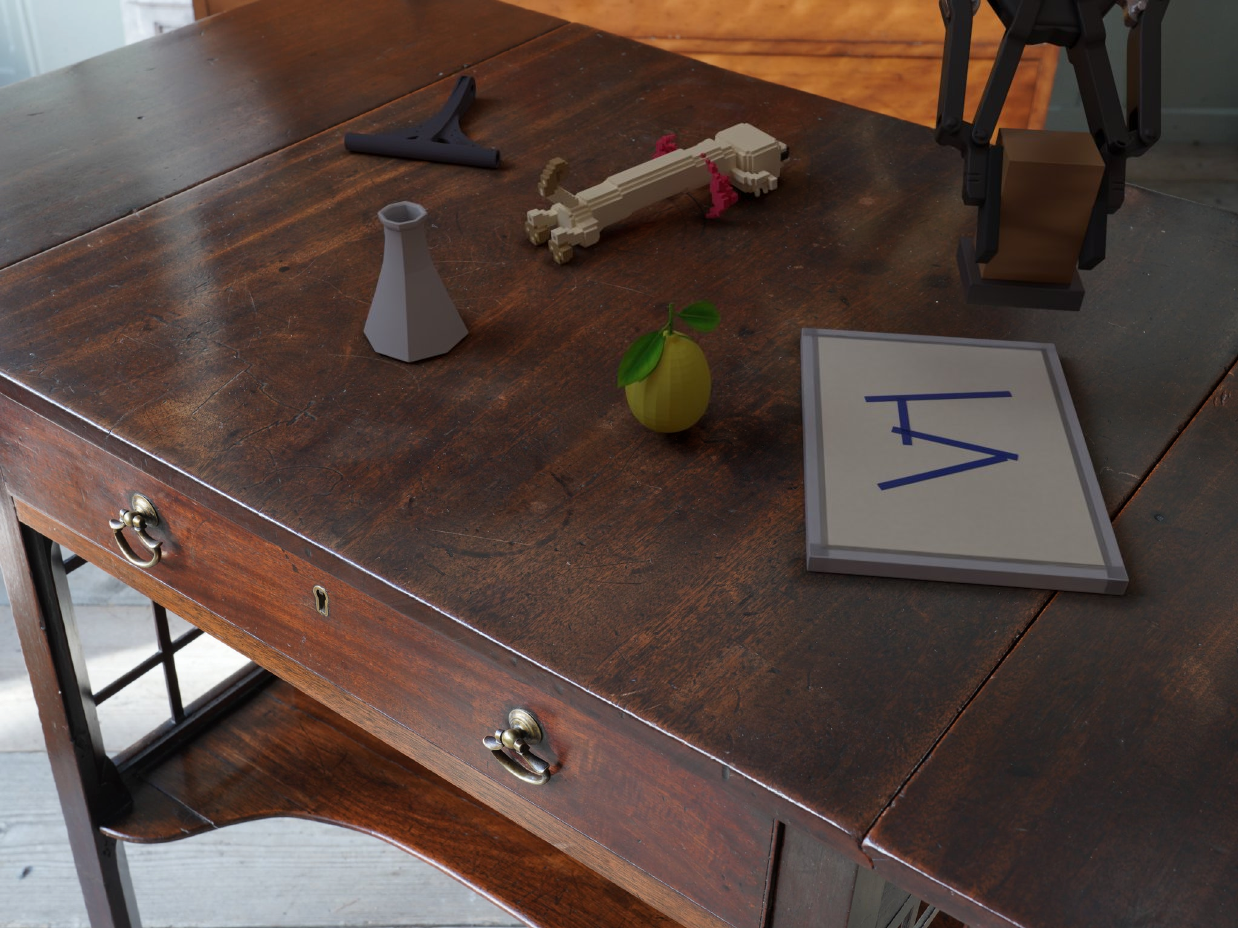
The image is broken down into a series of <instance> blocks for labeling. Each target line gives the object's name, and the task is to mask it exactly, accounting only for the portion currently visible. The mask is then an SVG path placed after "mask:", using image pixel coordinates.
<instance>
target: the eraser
mask: <svg viewBox="0 0 1238 928" xmlns="http://www.w3.org/2000/svg"><path fill="white" fill-rule="evenodd" d="M994 145H997V146H1004V150H1003V168H1002V186H1001V209H1000V227H999V244H998V253H997V254H996V255H995V256H994V257H993V258H992V259H991V260H990V261H989V262H988V264H982V263H975V252H976V235H977V227H976V228H975V233H974V236H973V237H966V236H960V237H959V240H958V245H957V249H956V254H955V259H956V263H957V267H958V272H959V276H960V282H961V286H962V291H963V294H964V295H963V296H964V301H965V304H966V305H971V306H972V305H973V306H985V307H986V306H987V307H1001V308H1002V307H1003V308H1019V309H1033V310H1049V311H1062V312H1076V313H1077V312H1078V313H1079V312H1080V310H1081V307H1082V304H1083V301H1084V298H1085V295H1086V289H1085V287H1084V284H1083V282H1082V278H1081V276H1080V273H1079V270H1078V259H1079V255H1080V251H1081V248H1082V244H1083V241H1084V238H1085V234H1086V231H1087V227H1088V224H1089V220H1090V217H1091V213H1092V210H1093V207H1094V203H1095V200H1096V197H1097V193H1098V190H1099V186H1100V183H1101V179H1102V176H1103V173H1104V169H1105V163H1104V161H1103V159H1102V157H1101V155H1100V152H1099V150H1098V148H1097V146H1096V144H1095V141H1094V139H1093V137H1092V135H1091V133H1090V132H1087V131H1086V132H1084V131H1068V130H1067V131H1066V130H1051V129H1050V130H1049V129H1047V130H1046V129H1031V128H1029V129H1028V128H1013V127H999V128H998V131H997V135H996V139H995V143H994Z"/></svg>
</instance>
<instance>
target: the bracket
mask: <svg viewBox="0 0 1238 928" xmlns="http://www.w3.org/2000/svg"><path fill="white" fill-rule="evenodd" d="M476 83H477V82H476V79H475V78H474V76H469V75H460V74H459V75H458V77H457V79H456V82H455V84H454V86H453V88H452V90H451V92H450V94H449V97H448V98H447V100H446V102H445V104H444V105H443V107H442V108H441V111H440V112H438V113H436V114H434V115H433V116H432V117H430V118H429V119H426V120H425V121H422V122H421V123H418V124H415V125H413V126H410V127H406V128H403V129H399V130H395V131H390V132H384V133H377V134H368V133H362V132H361V133H360V132H351V131H347V132H346V133H345V135H344V140H343V145H344V149H345V150H346V151H351V152H358V153H368V154H375V155H383V156H391V157H392V156H393V157H400V158H407V159H416V160H425V161H433V162H440V163H448V164H449V163H450V164H459V165H465V166H474V167H483V168H491V169H498V168H499V166H500V164H501V151H500V150H499V149H495V148H488V147H483V146H481V145H479V144H477V143H476V142H474V141H473V140H471V139H470V138H469V137H468V136H466V135H465V133H463V132H462V129H461V127H460V124H459V123H460V120H461V119H462V118H463V116H465V114H466V113H467V111H469V109H470V108H471V106H472V105H473V104H474V102H475V99H476V96H477V95H476V93H477V84H476Z"/></svg>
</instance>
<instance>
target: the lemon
mask: <svg viewBox="0 0 1238 928" xmlns="http://www.w3.org/2000/svg"><path fill="white" fill-rule="evenodd" d="M668 306H669V308H668V315H669V316H668V319H669V320H668V322H667V324H666V325H665V326H664V327H662V328H661V329H659V330H654V331H652V332H651V331H650V332H647V333H645V334H643V335H640V337H638V338H637V339H636V340H634V341H633V342H632V343H631V345H630V346H629V348H627V350H626V352H625V353H624V354H623V357H622V359H621V361H620V364H619V366H618V369H617V388H619V389H620V388H623V387H624V391H625V397H626V401H627V404H628V407H629V409H630V411H631V413H632V414H633V416H634V417H635V418H636V420H637V421H638V422H639V423H640V424H641V425H643V426H644V427H645V428H647V429H648V430H650V431H653V432H657V433H664V434H665V433H666V434H669V433H670V434H671V433H679V432H682V431H685V430H688V429H690V428H691V427H693V426H694V425H695V424H696V423H697V422H698V421H700V419H701V418H702V417H703V416H704V415H705V413H706V411H707V408H708V407H709V402H710V396H711V391H712V375H711V371H710V367H709V364H708V361H707V359H706V355H705V354H704V351H703V350H702V349H701V347H700V346H699V344H698V343H697V342H696V341H695V340H694V339H693V338H692V337H690V336H689V335H687V334H685V333H684V332H680V331H676V330H674V315H676V316H677V317H678V318H680V319H681V320H682V321H683V322H684V323H685V324H686V325H688V326H689V327H691V328H692V329H693V330H695V331H698V332H701V333H705V334H706V333H711V332H713V331H714V330H716V329H717V327H718V325H719V323H720V322H721V320H722V317H721V316H720V313H719V311H718V309H717V307H716V306H715V304H713V302H711V301H709V300H705V299H704V300H700V301H699V300H698V301H696V302H693V303H690V304H689V305H687V306H686V307H684V308H683V309H682V310H680V311H679V312H677V311H674V302H669V305H668ZM667 328H668V330H666V329H667Z"/></svg>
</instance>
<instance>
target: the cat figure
mask: <svg viewBox="0 0 1238 928" xmlns="http://www.w3.org/2000/svg"><path fill="white" fill-rule="evenodd" d="M673 140H676V135H675V134H674V133H672V134H667V135H662V136H661V139H658V140H657V141H656V142H655V153H654V154H653V155H652V159H650V160H648V161H646V162H643V163H641V164H638V165H636V166H633V167H631V168H627V169H626V170H623V171H621V172H618V173H616V174H613V175H610V176H607V177H606V179H605V180H604V181H603V182H602V183H599V184H596V185H594V186H592V187H589V188H586V189H584V190H581V191H579V192H577V193H576V194H575V195H574V194H573V193H571V192H569V191H568V190H567V189H564V188H563V187H561V186H560V185H561V181H565V180H567V175H570V165H569V162H567V161H566V160H564V159H563V158H562V157H560V156H556V157H554V158H551V159H549V160H548V164H546V165H545V168H544V169H543V170H542V174H540V175H539V177H540V181H539V182H537V189H538V194H539V195H540V196H542V197H543V198H545V199H547V200H548V201H550V202H552V203H554V204H552V206H550V209H548V210H545V209H544V208H542V209H540V210H539V209H537V208H534V209H531V210H528V211H527V212H526V217H527V220H526V221H524V229H525V232H526V234H528V235H529V240H530V242H531V243H532V244H533V245H535V246H539V245H542V244H544V243H546V240H547V242H548V251H549V252H551V253H552V254H553V260H554V261H555V262H556V263H557V264H558V265H563V264H565V263H567V262H569V261H571V259H573V258H574V254H573V253H574V252H573V246H576V245H579V246H580V247H581V246H582V247H583V248H584V249H585V248H588V247H590V246H592V245H594V244H597V243H598V242H599V241H600V238H601V233H600V232H602V230H603V229H604V228H607V227H608V226H611V225H613V224H616V223H618V222H621V221H623V220H625V219H628V218H629V217H630V216H632V215H633V213H635V212H637V211H639V210H641V209H644V208H646V207H648V206H649V207H650V206H651V205H654V204H656V203H658V202H660V201H664V200H666V199H668V198H670V197H672V196H675V195H677V194H680V193H682V194H683V195H685V194H687V193H689V192H692V191H695V190H697V189H699V188H703V187H704V186H706V185H709V192H710V194H711V203H712V204H713V205H714V206H711V207H709V213H706V214H705V218H706V219H708V220H709V219H711V220H713V219H716V217H719V218H720V217H722V216H723V212H725V211H727V210H728V209H729V208H730V206H732V205H734V204H735V203H736V202H738V201H739V194H738V193H736V192H735V191H734V188H737V189H739V190H740V191H742V192H743V193H750V194H752V193H754V196H755V197H756V198H758V197H760V196H761V190H762V193H764V194H768V193H769V190H770V191H773V190H776V189H778V178H780V175H781V169H782V168H784V167H785V164H786V163H788V162H790V157H789V156H790V146H788V145H787V144H785V143H784V142H783V141H780V140H777V139H776V138H775V137H773V136H771V135H769V134H768V133H766V132H764V131H763V130H760V129H759V128H757V127H755V126H753V125H752V124H751V123H747V122H746V123H743V122H741V123H738V124H735V125H732V126H731V127H728V128H726V129H723V130H720V131H718V132H717V133H716V134H715V136H714V139H712V138H706V139H704V140H703V141H701V142H699V143H697V144H696V145H694V146H692V147H688V148H687V149H683V148H679V147H677V143H676V142H672V141H673ZM671 142H672V143H671ZM732 186H734V187H732ZM553 226H555V227H556V228H554V229H552V230H550V235H551V239H550V238H549V229H548V228H550V227H553Z"/></svg>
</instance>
